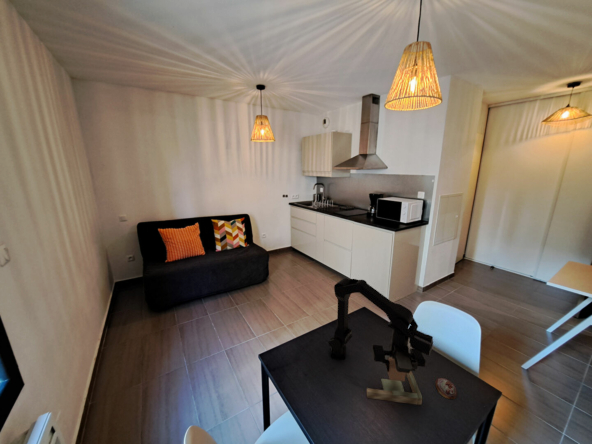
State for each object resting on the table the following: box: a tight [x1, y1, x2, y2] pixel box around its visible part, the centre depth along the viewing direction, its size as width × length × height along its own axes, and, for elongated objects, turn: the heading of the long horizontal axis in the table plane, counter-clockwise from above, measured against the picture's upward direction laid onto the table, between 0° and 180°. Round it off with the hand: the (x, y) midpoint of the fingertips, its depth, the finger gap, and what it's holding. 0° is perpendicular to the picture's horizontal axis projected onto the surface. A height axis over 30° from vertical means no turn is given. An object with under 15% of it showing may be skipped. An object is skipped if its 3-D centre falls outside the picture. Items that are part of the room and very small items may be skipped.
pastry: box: [435, 377, 458, 400], centre depth 90 cm, size 8×8×5 cm
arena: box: [366, 371, 423, 406], centre depth 94 cm, size 20×17×4 cm
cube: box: [387, 358, 406, 382], centre depth 88 cm, size 6×6×6 cm
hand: (395, 372), depth 89 cm, fingers closed on cube, 5 cm apart
